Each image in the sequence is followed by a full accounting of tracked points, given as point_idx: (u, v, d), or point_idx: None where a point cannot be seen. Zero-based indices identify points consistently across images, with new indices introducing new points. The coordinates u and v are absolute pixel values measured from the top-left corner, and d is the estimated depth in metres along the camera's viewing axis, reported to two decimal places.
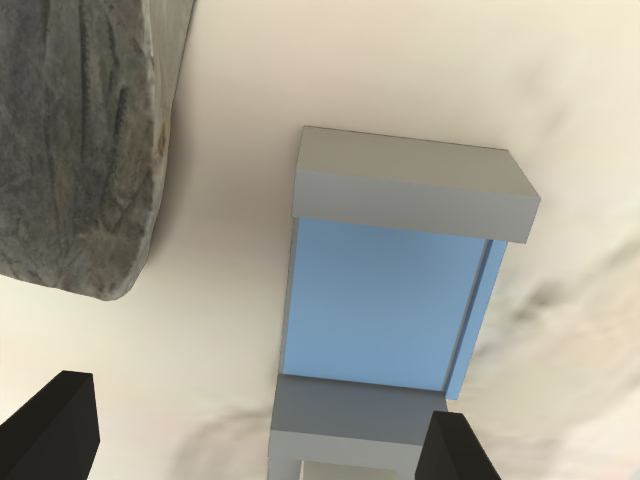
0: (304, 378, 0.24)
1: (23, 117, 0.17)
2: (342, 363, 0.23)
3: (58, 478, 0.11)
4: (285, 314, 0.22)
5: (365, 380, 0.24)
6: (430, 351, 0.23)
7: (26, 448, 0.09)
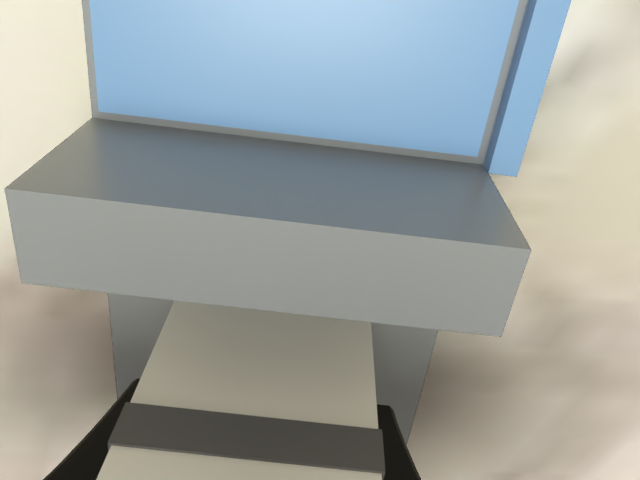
0: (153, 128, 0.10)
1: None
2: (236, 73, 0.09)
3: None
4: None
5: (297, 129, 0.10)
6: (456, 27, 0.09)
7: None
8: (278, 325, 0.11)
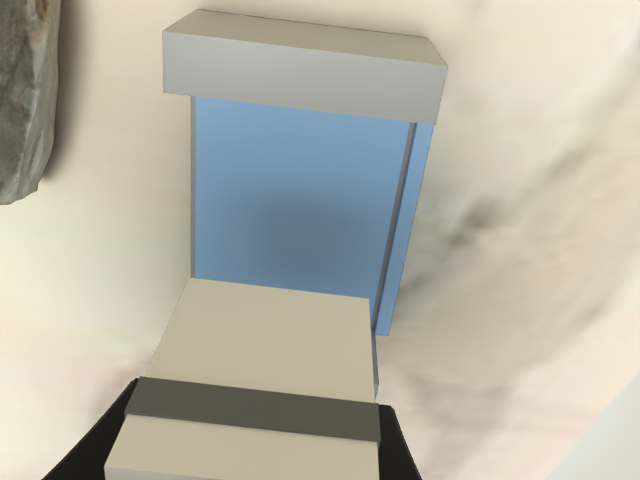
0: None
1: None
2: None
3: None
4: (192, 236, 0.20)
5: None
6: (355, 278, 0.20)
7: None
8: (282, 310, 0.12)
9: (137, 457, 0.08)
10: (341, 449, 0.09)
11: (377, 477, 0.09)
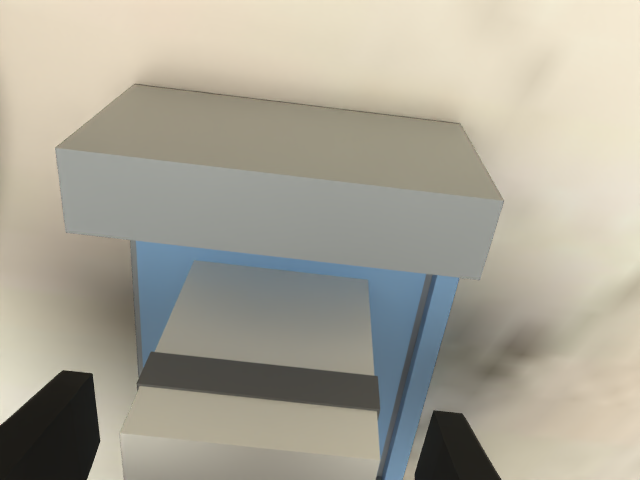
0: None
1: None
2: None
3: (58, 478, 0.11)
4: (140, 372, 0.15)
5: None
6: None
7: (26, 448, 0.09)
8: (284, 290, 0.12)
9: (150, 425, 0.09)
10: (343, 417, 0.09)
11: (377, 442, 0.09)
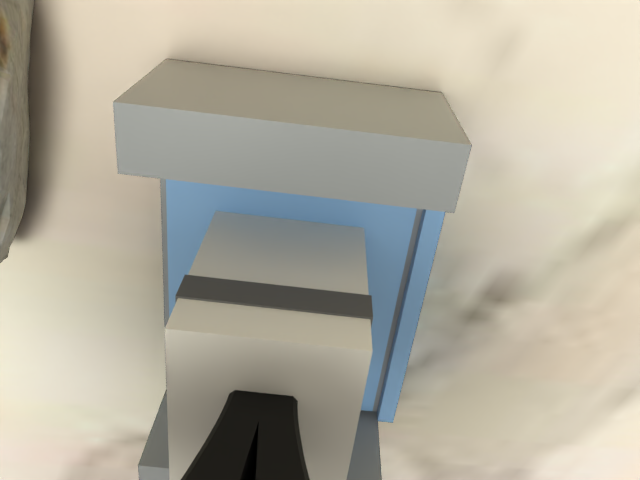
0: None
1: None
2: None
3: None
4: (165, 314, 0.17)
5: None
6: None
7: (240, 470, 0.09)
8: (293, 234, 0.15)
9: (188, 324, 0.11)
10: (342, 322, 0.12)
11: (370, 339, 0.11)
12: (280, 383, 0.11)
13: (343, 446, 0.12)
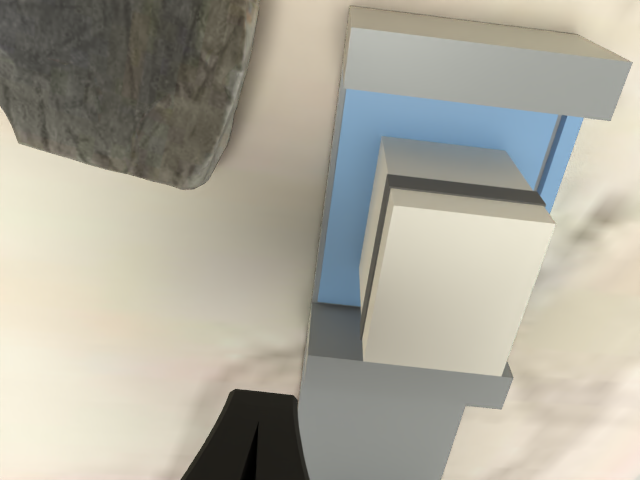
0: (340, 307, 0.22)
1: None
2: None
3: None
4: (322, 231, 0.20)
5: None
6: None
7: (240, 471, 0.09)
8: (452, 153, 0.17)
9: (409, 203, 0.14)
10: (524, 206, 0.15)
11: (551, 217, 0.14)
12: (476, 254, 0.14)
13: (516, 312, 0.15)
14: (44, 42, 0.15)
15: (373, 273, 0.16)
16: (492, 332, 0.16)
